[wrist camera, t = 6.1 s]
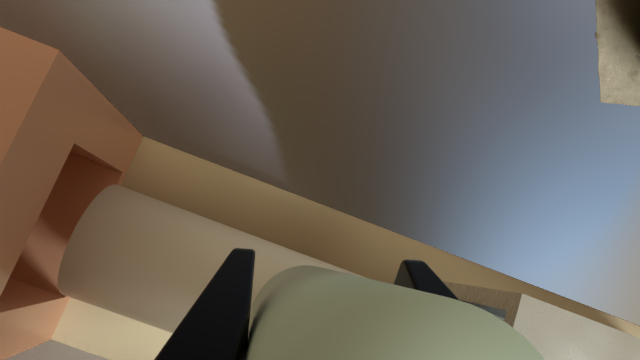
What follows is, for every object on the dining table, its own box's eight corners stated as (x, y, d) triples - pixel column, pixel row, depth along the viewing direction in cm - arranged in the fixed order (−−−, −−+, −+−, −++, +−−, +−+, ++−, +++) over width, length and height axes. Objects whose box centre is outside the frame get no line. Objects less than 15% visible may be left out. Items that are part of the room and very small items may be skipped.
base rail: (623, 528, 17) (645, 544, 16) (-70, 287, 15) (-93, 289, 14) (663, 338, 19) (686, 343, 18) (28, 96, 17) (13, 86, 16)
